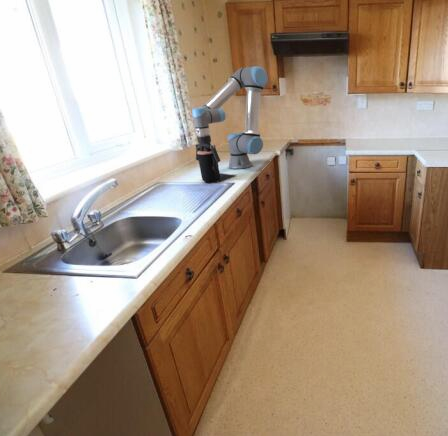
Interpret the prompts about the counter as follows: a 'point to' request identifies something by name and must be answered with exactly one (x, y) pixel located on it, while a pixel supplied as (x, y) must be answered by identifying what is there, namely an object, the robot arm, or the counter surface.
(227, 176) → the mat
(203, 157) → the coffee jar
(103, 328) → the counter surface
